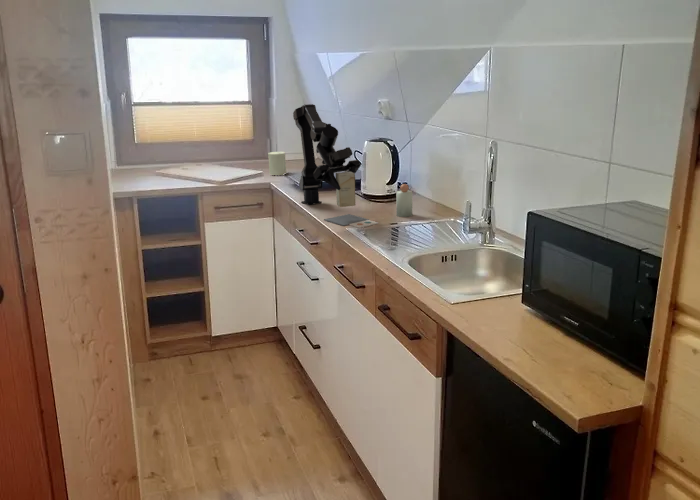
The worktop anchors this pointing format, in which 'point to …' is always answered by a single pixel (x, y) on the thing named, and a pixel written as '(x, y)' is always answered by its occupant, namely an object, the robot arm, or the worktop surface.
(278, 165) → the can
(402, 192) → the perfume bottle
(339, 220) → the mat
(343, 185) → the skincare box
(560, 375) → the worktop surface
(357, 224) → the card
